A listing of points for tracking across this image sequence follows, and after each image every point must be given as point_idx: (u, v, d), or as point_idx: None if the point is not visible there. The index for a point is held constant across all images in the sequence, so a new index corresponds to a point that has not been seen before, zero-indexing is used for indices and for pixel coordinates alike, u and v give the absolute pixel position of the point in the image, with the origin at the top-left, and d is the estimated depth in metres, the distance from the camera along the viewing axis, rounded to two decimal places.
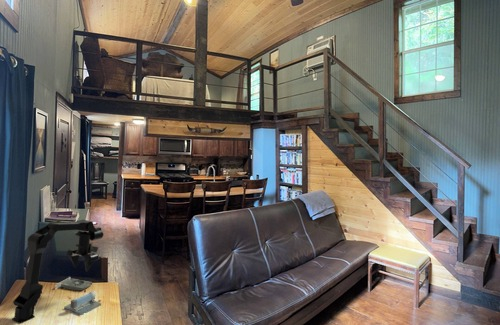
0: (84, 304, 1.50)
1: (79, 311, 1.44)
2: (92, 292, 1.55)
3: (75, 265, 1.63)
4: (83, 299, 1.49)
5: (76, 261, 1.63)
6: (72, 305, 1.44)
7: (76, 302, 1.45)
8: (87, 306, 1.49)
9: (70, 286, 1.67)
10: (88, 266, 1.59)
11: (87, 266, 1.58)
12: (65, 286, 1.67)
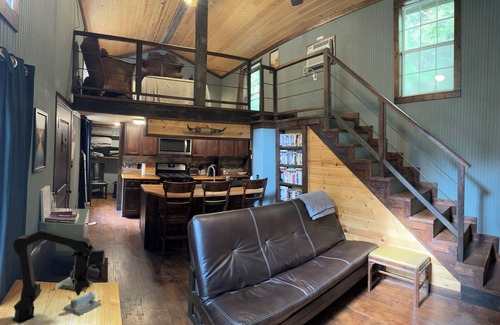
0: (84, 304, 1.50)
1: (79, 311, 1.44)
2: (92, 292, 1.55)
3: None
4: (83, 299, 1.49)
5: None
6: (72, 305, 1.44)
7: (76, 302, 1.45)
8: (87, 306, 1.49)
9: (71, 286, 1.67)
10: (78, 290, 1.41)
11: (76, 289, 1.41)
12: (65, 286, 1.67)
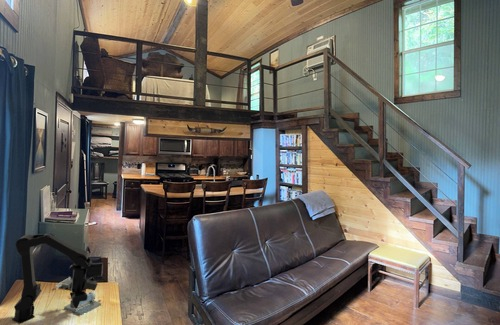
0: (84, 304, 1.50)
1: (79, 311, 1.44)
2: (92, 292, 1.55)
3: None
4: None
5: None
6: (72, 305, 1.44)
7: None
8: (87, 306, 1.49)
9: None
10: (76, 302, 1.42)
11: (74, 302, 1.42)
12: (66, 286, 1.67)
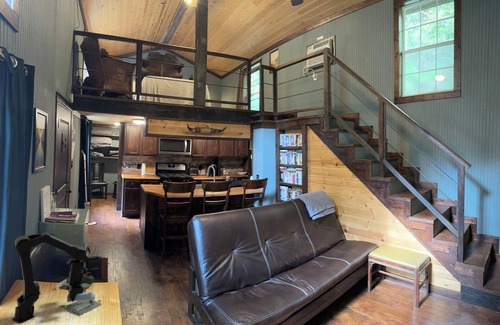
0: (84, 304, 1.50)
1: (79, 311, 1.44)
2: (92, 292, 1.55)
3: (72, 298, 1.49)
4: (79, 296, 1.51)
5: (73, 294, 1.49)
6: None
7: None
8: (87, 306, 1.49)
9: None
10: (73, 296, 1.48)
11: (71, 296, 1.48)
12: (66, 286, 1.67)
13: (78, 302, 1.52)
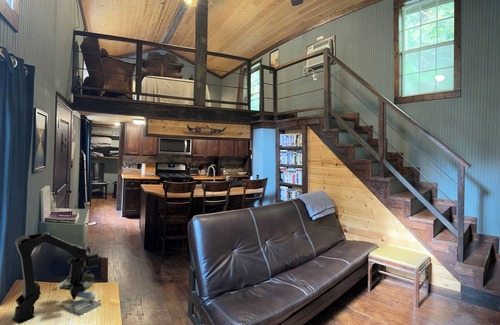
0: (84, 304, 1.50)
1: (79, 311, 1.44)
2: (92, 292, 1.55)
3: None
4: (81, 293, 1.55)
5: None
6: None
7: None
8: (87, 306, 1.49)
9: None
10: (74, 294, 1.50)
11: (72, 294, 1.50)
12: (67, 286, 1.68)
13: (78, 302, 1.52)
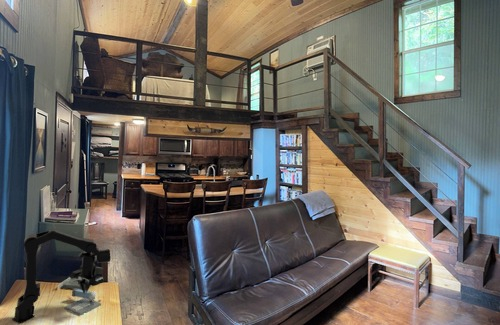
0: (84, 304, 1.50)
1: (79, 311, 1.44)
2: (92, 292, 1.55)
3: None
4: (81, 293, 1.55)
5: None
6: None
7: (74, 291, 1.55)
8: (87, 306, 1.49)
9: (73, 285, 1.68)
10: (87, 288, 1.50)
11: (85, 288, 1.49)
12: (67, 286, 1.68)
13: (78, 302, 1.52)
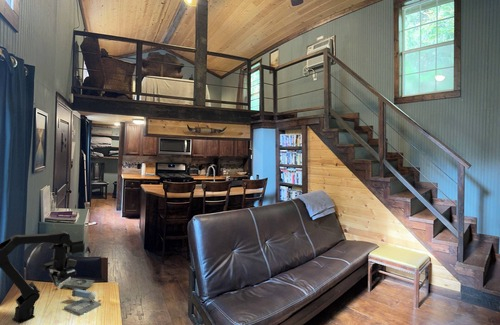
0: (84, 304, 1.50)
1: (79, 311, 1.44)
2: (92, 292, 1.55)
3: None
4: (81, 293, 1.55)
5: None
6: None
7: (74, 291, 1.55)
8: (87, 306, 1.49)
9: (73, 285, 1.68)
10: (58, 281, 1.44)
11: (57, 281, 1.44)
12: (68, 286, 1.68)
13: (78, 302, 1.52)
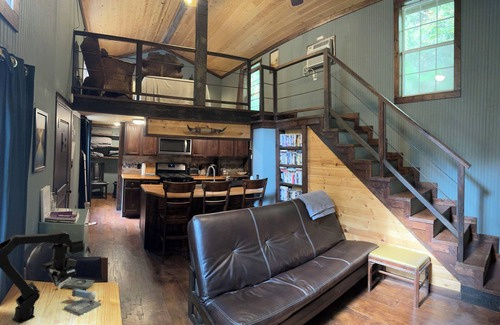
0: (84, 304, 1.50)
1: (79, 311, 1.44)
2: (92, 292, 1.55)
3: None
4: (81, 293, 1.55)
5: None
6: None
7: (74, 291, 1.55)
8: (87, 306, 1.49)
9: (73, 285, 1.68)
10: (58, 280, 1.44)
11: (57, 281, 1.44)
12: (68, 286, 1.68)
13: (78, 302, 1.52)
